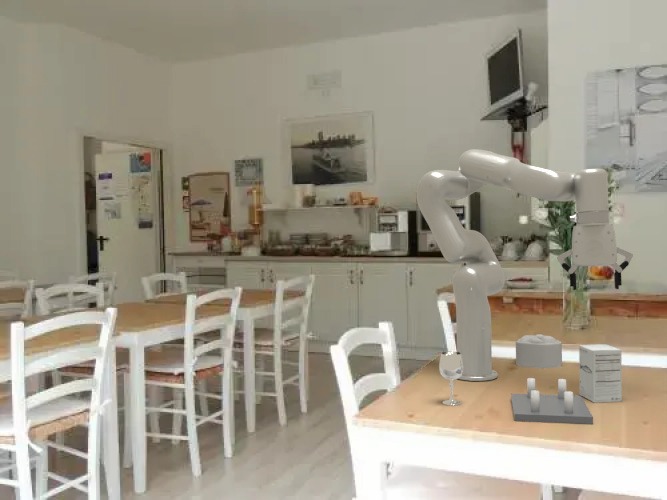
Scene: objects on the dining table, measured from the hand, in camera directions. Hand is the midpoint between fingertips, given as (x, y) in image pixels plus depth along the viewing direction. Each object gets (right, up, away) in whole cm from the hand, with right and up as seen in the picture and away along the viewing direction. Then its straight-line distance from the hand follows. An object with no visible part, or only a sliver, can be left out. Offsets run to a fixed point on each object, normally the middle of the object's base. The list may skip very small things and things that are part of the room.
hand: (595, 289), depth 164 cm
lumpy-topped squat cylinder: (-2, -25, +38) cm, 46 cm away
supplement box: (0, -27, -2) cm, 27 cm away
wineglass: (-36, -27, -4) cm, 45 cm away
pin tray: (-15, -27, -12) cm, 33 cm away
